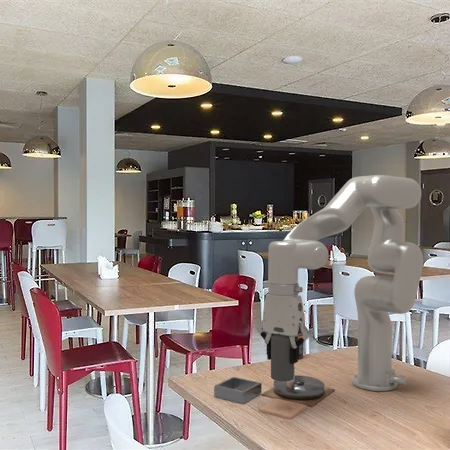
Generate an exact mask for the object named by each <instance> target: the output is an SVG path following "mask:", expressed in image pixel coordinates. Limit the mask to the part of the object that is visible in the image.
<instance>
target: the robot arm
mask: <svg viewBox="0 0 450 450" xmlns="http://www.w3.org/2000/svg"><path fill="white" fill-rule="evenodd" d="M421 198H422V188H421V186H420V184H419V182H417V181H416V180H415V179H413V178H410V177H404V176H403V177H401V176H395V175H394V176H392V175H383V174H373V175H363V176H362V175H361V176H360V175H359V176H354V177H352V178H350V179H349V180H347V181H346V183H345V184H343V186H342V187H341V188H340V189H339V191H338V192H337V193H336V194H335V195H334V196H333V197H332V198H331V199H330V201H329V202H328V203H326V204H327V205H325V206H324V207H323V208H322V209H320V210H318V211H317V212H315V213H314V214H312V215H310V216H309V217H307V218H306V219H304V220H302V221H301V222H299V223H298V224H296V225H295V226H294V227H293V228H292V229H291V230H290V231H289V232H288V233H287V235H286V236H285V237H284V238H283V240H277V241H271V242H270V243H269V244H268V257H267V258H268V259H267V260H268V261H267V263H268V267H267V268H268V270H267V271H268V272H267V273H268V276H267V277H268V279H267V280H268V282H267V287H268V288H267V292H268V293H266V295H265V298H264V303H263V312H262V320H261V321H260V322H259V323H258V324H257V325H256V326H255V329H256V331H257V332H258V334H260V337H262V339H263V341H264V344H266V355H267V356H266V357H267V358H266V359H267V360H269V361H271V336H272V335H273V334H278V333H279V334H281V335H284V336H289V338H290V341H291V344H292V348H290V363H291V364H294V365H295V364H297V363H298V362H299V360H300V359H299V347H300V346H301V345H302V344H303V345H304V343H305V342H306V341H307V340H308V339H309V338H311V337H312V332H311V331H310V330H309V329H308V328H307V327H306V325H305V323H306V322H305V312H304V311H305V309H304V304H303V297H302V296H301V295H299V293H303V290H304V289H303V286H300V285H299V269H306V270H318V269H320V268H322V267H324V265H326V264H327V262H328V259H329V250H328V248H327V247H326V246H325V244H324V243H322V242H321V241H319V240H321V239H323V238H327V237H330V236H333V235H337V234H340V233H342V232H345V231H347V230H348V229H349V228H350V227H351V226H352V224H353V223H354V222H355V221H356V220H357V218H358V217H359V216H360V214H361V213H362V212H363V211H364V210H365V208H367V207H369V208H370V211H371V213H372V215H373V218H374V229H373V234H372V238H371V242H370V247H369V250H368V256H367V265H368V267H369V268H370V269H371V270H372V271H373V272H376V273H377V272H378V273H381V274H390V275H393V277H392V278H391V277H386V276H378V275H367V276H363V277H360V279H359V280H357V282H356V284H355V286H354V292H353V293H354V300H355V304H356V311H357V374H356V375H354V376H352V379H351V381H352V384H353V385H354V386H355V387H357V388H360V389H363V390H367V391H373V392H388V391H393V390H395V389H396V388H397V387H398V384H399V385H404V386H406V385H407V381H408V380H407V377H405V376H404V375H399V374H397V373H396V371H395V368H393V367H392V366H393V365H392V364H393V363H392V361H393V360H392V359H393V352H392V351H393V350H392V349H393V347H392V346H393V342H392V341H393V325H392V324H393V323H392V320H391V319H392V318H391V317H390V315H389V313H393V314H397V315H398V314H399V315H403V314H407V313H408V312H410V311H411V310H412V309H413V307H414V305H415V303H416V299H417V294H418V290H419V285H420V281H421V276H422V271H423V266H424V257H423V256H424V255H423V251H422V249H421V248H420V247H419V245H417V244H415V243H413V242H410V241H403V240H404V235H405V234H404V233H405V229H406V228H405V222H404V220H403V219H404V218H403V217H402V216H401V213H400V212H399V211H398V210H399V209H400V210H402V209H405V210H407V209H412V208H414V207H416V206H417V205H418V204H419V203H420V201H421ZM277 321H279V322H277ZM274 327H278V328H282V329H283V330H284V332H276V331H274ZM302 333H303V336H302V337H301V338H299V335H298V334H302Z"/></svg>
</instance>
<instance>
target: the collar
mask: <svg viewBox="0 0 450 450" xmlns="http://www.w3.org/2000/svg"><path fill="white" fill-rule="evenodd" d="M213 390H214V391H213V397H214V398H218V399H221V400H226V401H229V402H234V403H238V404H241V405H244V404H246V403H248V402H249V401H251V400H253V399H254V398H257V397H258V396H259V395H262V394H263V392H262V390H263V389H262V382H259V381H254V380H249V379H246V378H242V377H236V376H232V377H230V378H228V379H226V380H224V381H222V382H220V383H217V384H215V385H214V386H213Z"/></svg>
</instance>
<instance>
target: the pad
mask: <svg viewBox="0 0 450 450" xmlns="http://www.w3.org/2000/svg"><path fill="white" fill-rule="evenodd" d="M307 408H308V406H307V405H303V404H299V403H295V402H290V401H286V400H282V399H278V398H276V399H275V398H273V399H272V400H271V401H269V402H267V403H265V404H263V405H262V406H261V407H259V408H258V412H261V413H264V414H268V415H273V416H276V417H280V418H284V419H288V420H292V419H293V418H295V417H296V416H297V415H299V414H300V413H301V412H303V411H305V410H306V409H307Z"/></svg>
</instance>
